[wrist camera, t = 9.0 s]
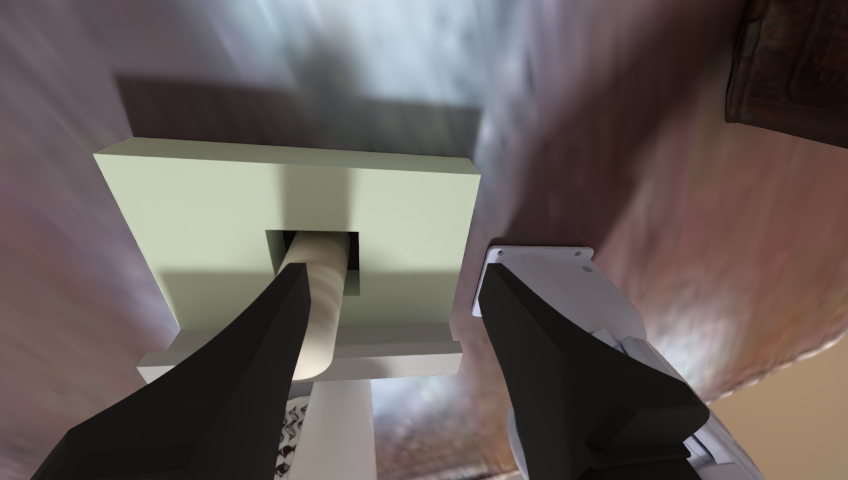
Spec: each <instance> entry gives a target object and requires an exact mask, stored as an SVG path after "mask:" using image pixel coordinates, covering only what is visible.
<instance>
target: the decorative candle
mask: <svg viewBox="0 0 848 480" xmlns="http://www.w3.org/2000/svg"><path fill="white" fill-rule="evenodd" d="M309 398H310V396H302V397H297V398H294V399H291V400H288V401H287V405H286V410H285V416H284V421H283V427H282V433H281V439H280V444H279V450H278V456H277V463H276V469H275V476H274V480H287V476H288V473H289V469H290V465H291V462H292V458H293V455H294V451H295V448H296V444H297V441H298V437H299V434H300V430H301V426H302V423H303V419H304V416H305V412H306V408H307V405H308V401H309Z"/></svg>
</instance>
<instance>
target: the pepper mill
mask: <svg viewBox="0 0 848 480" xmlns="http://www.w3.org/2000/svg"><path fill="white" fill-rule="evenodd" d="M725 122H726V123H742V124H746V125H751V126H756V127H760V128H765V129H769V130H773V131H777V132H781V133H785V134H789V135H793V136H797V137H801V138H805V139H809V140H813V141H817V142H821V143H826V144H830V145H834V146H838V147H842V148H846V149H848V0H749V3H748V6H747V9H746V12H745V16H744V19H743V22H742V25H741V28H740V32H739V35H738V38H737V43H736V47H735V52H734V62H733V67H732V72H731V76H730V81H729V86H728V90H727V95H726V111H725Z"/></svg>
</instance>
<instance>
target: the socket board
mask: <svg viewBox="0 0 848 480" xmlns="http://www.w3.org/2000/svg"><path fill="white" fill-rule="evenodd" d="M93 155H94V157H95V159H96V161H97V163H98V165H99V167H100V169H101V171H102V173H103V175H104V177H105V179H106V181H107V183H108V185H109V187H110V189H111V191H112V193H113V195H114V197H115V199H116V201H117V203H118V205H119V207H120V209H121V211H122V213H123V215H124V217H125V219H126V221H127V223H128V225H129V228H130V230H131V232H132V234H133V236H134V238H135V240H136V242H137V244H138V246H139V248H140V250H141V252H142V254H143V256H144V258H145V260H146V262H147V264H148V266H149V268H150V270H151V272H152V274H153V276H154V278H155V280H156V282H157V284H158V286H159V288H160V290H161V292H162V294H163V296H164V298H165V300H166V302H167V304H168V306H169V308H170V310H171V312H172V314H173V316H174V318H175V320H176V322H177V324H178V326H179V328H180V332H179V333H178V335H177V336H176V338H175V339H174V341H173V342H172V344H171V345H170V347H169V348H168V350H167V351H166V352H152V353H146V354H145V356H144V357H143V359H142V360H141V361H140V363H139V364H138V365H137V367H136V368H137V369H138V371H139V372H140V373H141V375H142V376H143V378H144V379H145V381H146V382H147V384H149V383H151V382H152V381H154V380H155V379H157V378H158V377H160V376H161V375H163V374H165V373H166V372H168V371H169V370H171V369H172V368H173V367H175V366H176V365H178V364H179V363H180V362H182V361H183V360H185V359H186V358H187V357H189V356H190V355H192V354H193V353H194V352H196V351H197V350H198V349H200V348H201V347H202V346H204V345H205V344H206V343H208V342H209V341H210V340H211V339H212V338H214V337H215V336H216V335H217V334H219V333H220V332H221V331H222V330H223V329H224V328H226V327H227V326H228V325H229V324H230V323H231V322H232V321H233V320H234V319H236V318H237V317H238V316H239V315H240V314H241V313H242V312H243V311H244V310H245V309H246V308H247V307H248V306H249V305H250V304H251V303H252V302H253V301H254V300H255V299H256V298H257V297H258V296H259V295H260V294H261V293H262V292H263V291H264V290H265V289H266V288H267V286H268V285H269V284H270V283H271V282H272V281H273V280H274V279H275V278H276V276H277V274H278V271H279V269H280V267H281V265H282V263H283V261H284V258H285V256H286V248H285V242H284V237H283V231H282V230H305V231H351V232H359V265H360V270H347V271H346V278H345V284H344V290H343V296H342V302H341V309H340V315H339V321H338V327H337V334H336V340H335V346H334V352H333V358H332V362H331V364H330V365H329V367H328V368H327V369H326V370H325V371H323V372H322V373H320V374H318V375H316V376H314V377H311V378H307V379H301V380H292V382H291V383H306V382H324V381H343V380H361V379H379V378H398V377H416V376H435V375H453V374H457V372H458V369H459V365H460V361H461V358H462V354H463V352H462V348H461V344H460V341H453V339H452V334H451V330H450V326H449V319H450V315H451V310H452V306H453V301H454V296H455V292H456V287H457V283H458V278H459V274H460V269H461V264H462V260H463V255H464V251H465V246H466V241H467V237H468V232H469V228H470V223H471V218H472V214H473V209H474V205H475V200H476V196H477V191H478V186H479V182H480V177H481V174H480V173H479V172H478V170H477V169H476V167H475V166H474V165H473V163H472V162H471V161H470V159H469V158H458V157H442V156H426V155H411V154H395V153H379V152H363V151H348V150H332V149H316V148H300V147H285V146H269V145H253V144H237V143H221V142H206V141H190V140H174V139H158V138H143V137H132V138H129V139H127V140H124V141H122V142H120V143H117V144H115V145H113V146H110V147H108V148H105V149H103V150H101V151H98V152H96V153H93Z"/></svg>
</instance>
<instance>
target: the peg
mask: <svg viewBox="0 0 848 480" xmlns="http://www.w3.org/2000/svg"><path fill="white" fill-rule="evenodd" d="M350 246H351V238H350V235H349V233H348V231H305V230H297V232H296V234H295V236H294V239H293V241H292V243H291V245H290V247H289V250H288V252H287V254H286V256H285V258H284V261H283V263H282V265H281V267H280V269H279V271H278V274H279V273H280V272H281V271H282V269H283V268H284V267H285V266H286V265H287V264H288V263H306V266H307V273H308V280H309V287H310V294H311V309H310V315H309V321H308V327H307V330H306V334H305V337H304V341H303V344H302V348H301V351H300V355H299V358H298V361H297V365H296V368H295V372H294V375H293V379H292V380H301V379H307V378H311V377H314V376H316V375H318V374H320V373H322V372H323V371H325V370H326V369H327V368H328V367H329V365H330V364H331V362H332V358H333V352H334V346H335V340H336V334H337V327H338V321H339V315H340V309H341V302H342V296H343V290H344V284H345V278H346V271H347V265H348V259H349V253H350ZM278 274H277V275H278Z"/></svg>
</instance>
